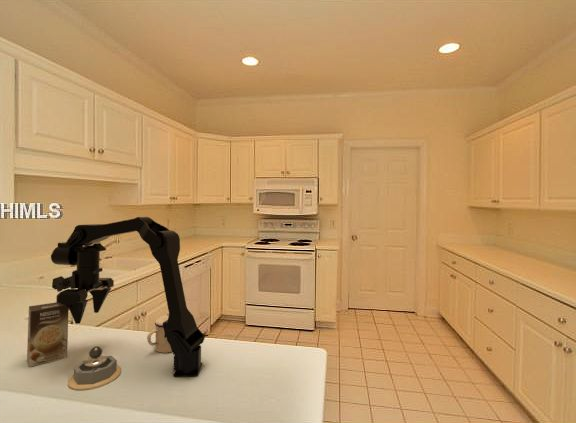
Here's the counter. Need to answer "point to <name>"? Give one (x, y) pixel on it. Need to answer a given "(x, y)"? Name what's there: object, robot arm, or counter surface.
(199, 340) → the robot arm
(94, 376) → the grey bowl
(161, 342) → the teacup with lid
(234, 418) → the counter surface
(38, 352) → the coffee box
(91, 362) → the plunger
